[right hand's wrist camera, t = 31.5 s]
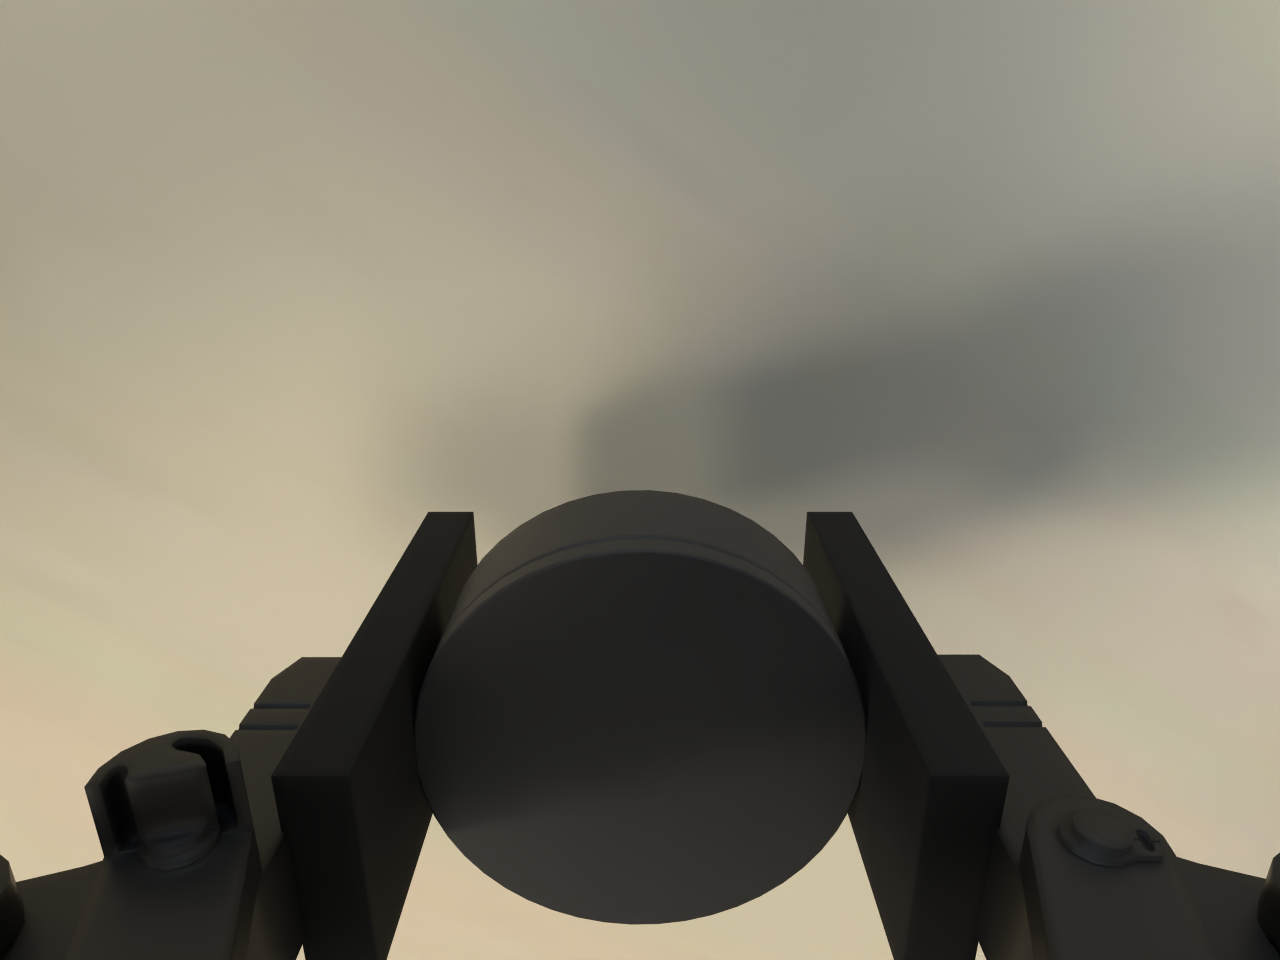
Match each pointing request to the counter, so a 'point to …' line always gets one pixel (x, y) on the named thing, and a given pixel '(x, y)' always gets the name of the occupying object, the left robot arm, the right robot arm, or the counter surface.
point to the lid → (640, 712)
